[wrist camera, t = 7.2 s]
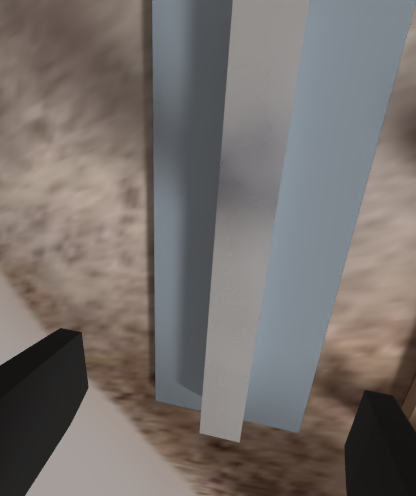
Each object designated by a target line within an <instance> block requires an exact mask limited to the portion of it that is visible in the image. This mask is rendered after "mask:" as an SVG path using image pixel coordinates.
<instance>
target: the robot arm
mask: <svg viewBox="0 0 416 496" xmlns="http://www.w3.org/2000/svg"><path fill="white" fill-rule="evenodd" d="M87 389H88V379H87V372H86V364H85V356H84V348H83V340H82V332H77V331H72V330H67V329H63V328H60V329H58V330H57V331H55V332H53V333H52V334H50V335H48V336H47V337H45V338H44V339H42V340H40V341H39V342H38V343H36V344H34V345H33V346H31V347H29V348H28V349H26V350H24V351H23V352H21V353H20V354H18V355H16V356H15V357H13V358H12V359H10V360H9V361H7V362H5V363H4V364H2V365H0V496H25V495H26V493H27V492H28V490H29V488H30V487H31V485H32V484H33V482H34V481H35V479H36V478H37V476H38V475H39V473H40V471H41V470H42V468H43V467H44V465H45V464H46V462H47V461H48V459H49V457H50V456H51V454H52V453H53V451H54V449H55V448H56V446H57V445H58V443H59V442H60V440H61V439H62V437H63V435H64V434H65V432H66V431H67V429H68V427H69V426H70V424H71V422H72V420H73V418H74V416H75V414H76V412H77V410H78V408H79V406H80V404H81V402H82V400H83V398H84V396H85V394H86V392H87ZM345 471H346V489H347V496H416V431H415V430H414V428H413V426H412V425H411V423H410V422H409V420H408V419H407V417H406V415H405V414H404V412H403V411H402V409H401V407H400V406H399V404H398V403H397V401H396V400H395V398H394V397H393V396H391V395H386V394H381V393H376V392H371V391H366V390H365V392H364V394H363V397H362V400H361V403H360V405H359V408H358V411H357V414H356V416H355V419H354V422H353V424H352V427H351V430H350V433H349V435H348V438H347V441H346V443H345Z"/></svg>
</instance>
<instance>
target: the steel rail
mask: <svg viewBox="0 0 416 496" xmlns="http://www.w3.org/2000/svg"><path fill="white" fill-rule="evenodd" d="M309 1H310V0H233V5H232V18H231V31H230V44H229V57H228V70H227V83H226V96H225V109H224V122H223V135H222V147H221V160H220V173H219V186H218V199H217V212H216V225H215V238H214V251H213V264H212V277H211V290H210V303H209V316H208V329H207V342H206V355H205V368H204V381H203V394H202V407H201V420H200V433H201V434H205V435H210V436H214V437H218V438H222V439H226V440H231V441H235V442H239V443H240V437H241V431H242V424H243V418H244V412H245V405H246V399H247V393H248V386H249V380H250V374H251V367H252V361H253V355H254V348H255V342H256V336H257V329H258V323H259V317H260V310H261V304H262V298H263V292H264V285H265V279H266V273H267V266H268V260H269V254H270V247H271V241H272V235H273V228H274V222H275V216H276V209H277V203H278V197H279V190H280V184H281V178H282V171H283V165H284V159H285V152H286V146H287V140H288V133H289V127H290V121H291V115H292V108H293V102H294V96H295V89H296V83H297V77H298V70H299V64H300V58H301V51H302V45H303V39H304V32H305V26H306V20H307V13H308V7H309Z"/></svg>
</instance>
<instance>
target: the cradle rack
mask: <svg viewBox="0 0 416 496" xmlns="http://www.w3.org/2000/svg"><path fill="white" fill-rule="evenodd" d="M401 409H402V411H403V412H404V414H405V415H406V417H407V419H408V420H409V422H410V423H411V425H412V426H413V428H414V430H415V431H416V376H415V378H414V381H413V383H412V385H411V387H410V390H409V392H408V394H407V396H406V398H405V401H404V403H403V405H402V407H401Z"/></svg>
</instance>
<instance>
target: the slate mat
mask: <svg viewBox="0 0 416 496" xmlns="http://www.w3.org/2000/svg"><path fill="white" fill-rule="evenodd" d="M415 4H416V0H310V1H309V7H308V13H307V20H306V26H305V32H304V39H303V45H302V51H301V58H300V64H299V70H298V77H297V83H296V89H295V96H294V102H293V108H292V115H291V121H290V127H289V133H288V140H287V146H286V152H285V159H284V165H283V171H282V178H281V184H280V190H279V197H278V203H277V209H276V216H275V222H274V228H273V235H272V241H271V247H270V254H269V260H268V266H267V273H266V279H265V285H264V292H263V298H262V304H261V310H260V317H259V323H258V329H257V336H256V342H255V348H254V355H253V361H252V367H251V374H250V380H249V386H248V393H247V399H246V405H245V412H244V418H243V421H247V422H251V423H256V424H260V425H264V426H269V427H273V428H278V429H282V430H287V431H291V432H295V433H299V431H300V428H301V424H302V420H303V416H304V413H305V409H306V405H307V402H308V398H309V394H310V391H311V387H312V383H313V380H314V376H315V372H316V369H317V365H318V361H319V357H320V354H321V350H322V346H323V343H324V339H325V335H326V332H327V328H328V324H329V321H330V317H331V313H332V310H333V306H334V302H335V298H336V295H337V291H338V287H339V284H340V280H341V276H342V273H343V269H344V265H345V262H346V258H347V254H348V251H349V247H350V243H351V239H352V236H353V232H354V228H355V225H356V221H357V217H358V214H359V210H360V206H361V203H362V199H363V195H364V192H365V188H366V184H367V181H368V177H369V173H370V169H371V166H372V162H373V158H374V155H375V151H376V147H377V144H378V140H379V136H380V133H381V129H382V125H383V122H384V118H385V114H386V110H387V107H388V103H389V99H390V96H391V92H392V88H393V85H394V81H395V77H396V74H397V70H398V66H399V63H400V59H401V55H402V51H403V48H404V44H405V40H406V37H407V33H408V29H409V26H410V22H411V18H412V15H413V11H414V7H415ZM232 5H233V0H152V41H153V161H154V281H155V401H158V402H163V403H167V404H172V405H176V406H181V407H185V408H189V409H194V410H198V411H201V407H202V394H203V381H204V368H205V355H206V342H207V329H208V316H209V303H210V290H211V277H212V264H213V251H214V238H215V225H216V212H217V199H218V186H219V173H220V160H221V147H222V135H223V122H224V109H225V96H226V83H227V70H228V57H229V44H230V31H231V18H232Z"/></svg>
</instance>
